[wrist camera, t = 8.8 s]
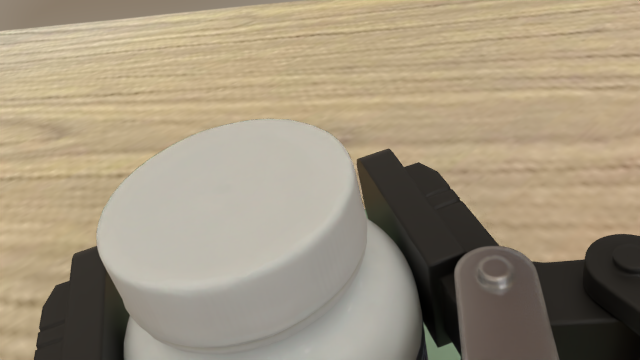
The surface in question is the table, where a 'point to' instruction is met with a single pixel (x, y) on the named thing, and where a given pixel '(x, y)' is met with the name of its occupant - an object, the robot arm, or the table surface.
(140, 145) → the table surface
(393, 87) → the table surface
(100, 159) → the table surface
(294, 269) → the pill bottle
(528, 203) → the table surface
